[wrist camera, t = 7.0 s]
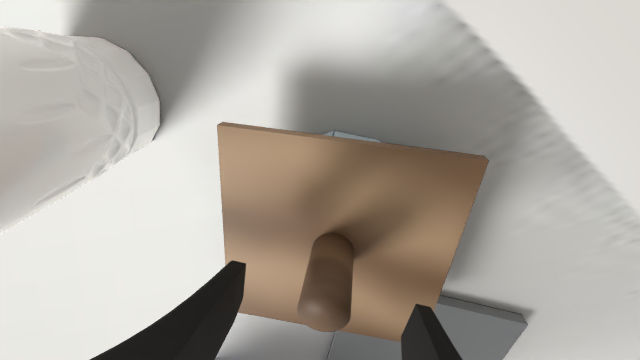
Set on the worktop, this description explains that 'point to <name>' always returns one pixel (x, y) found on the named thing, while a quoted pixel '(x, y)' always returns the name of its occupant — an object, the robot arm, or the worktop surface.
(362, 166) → the lid
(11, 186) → the white cup
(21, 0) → the worktop surface
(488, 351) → the mat
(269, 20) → the worktop surface
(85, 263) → the worktop surface
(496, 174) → the worktop surface
